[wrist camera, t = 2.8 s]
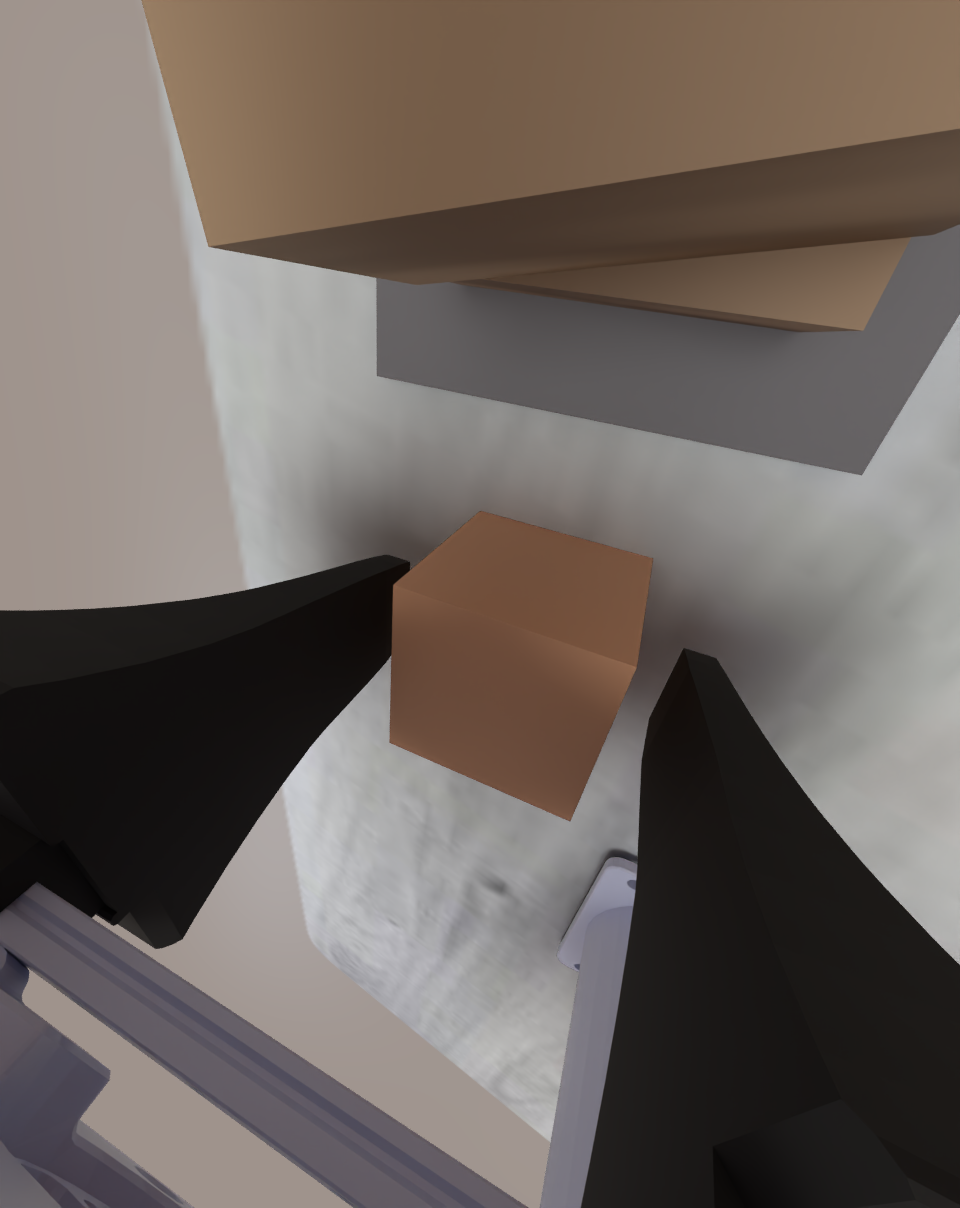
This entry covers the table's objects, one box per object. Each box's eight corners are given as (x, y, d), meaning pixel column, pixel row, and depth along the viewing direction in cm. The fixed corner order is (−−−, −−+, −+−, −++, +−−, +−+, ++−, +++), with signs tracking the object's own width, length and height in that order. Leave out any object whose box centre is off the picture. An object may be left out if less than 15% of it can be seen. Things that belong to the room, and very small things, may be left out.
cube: (652, 557, 10) (636, 667, 6) (601, 690, 12) (570, 821, 9) (481, 509, 11) (393, 584, 7) (463, 641, 13) (389, 742, 10)
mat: (1790, -1111, 3) (1957, -1329, 2) (854, 469, 8) (861, 475, 7) (394, -572, 5) (372, -639, 4) (387, 374, 10) (376, 376, 9)
